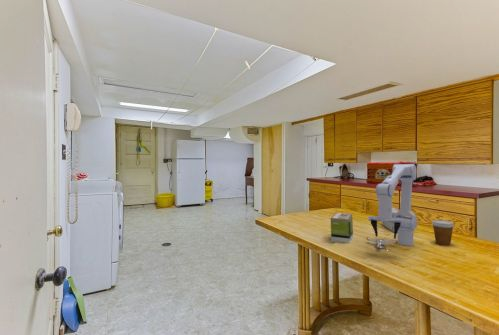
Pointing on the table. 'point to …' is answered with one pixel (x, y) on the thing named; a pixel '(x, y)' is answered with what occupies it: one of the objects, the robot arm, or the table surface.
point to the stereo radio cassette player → (388, 224)
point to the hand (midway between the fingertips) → (385, 237)
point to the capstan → (380, 243)
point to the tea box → (341, 227)
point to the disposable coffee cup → (443, 231)
